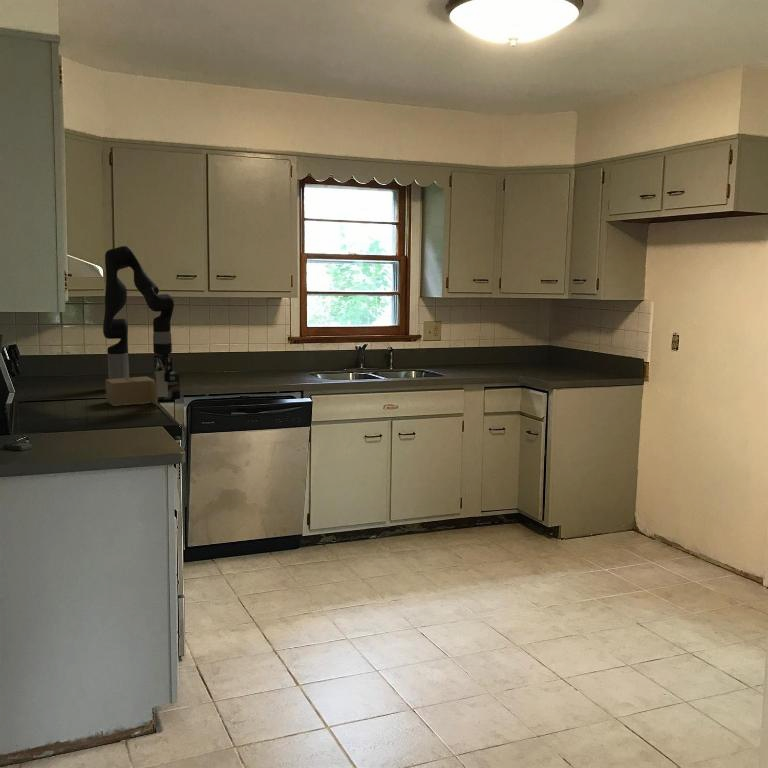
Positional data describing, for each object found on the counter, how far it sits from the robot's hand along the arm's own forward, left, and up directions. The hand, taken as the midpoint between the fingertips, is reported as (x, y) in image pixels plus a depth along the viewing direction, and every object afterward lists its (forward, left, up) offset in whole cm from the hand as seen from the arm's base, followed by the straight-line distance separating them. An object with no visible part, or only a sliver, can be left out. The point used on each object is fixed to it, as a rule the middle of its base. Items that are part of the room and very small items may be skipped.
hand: (163, 380), depth 351 cm
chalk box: (-17, +6, -11) cm, 22 cm away
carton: (-13, -11, -11) cm, 20 cm away
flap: (-3, -1, -11) cm, 11 cm away
